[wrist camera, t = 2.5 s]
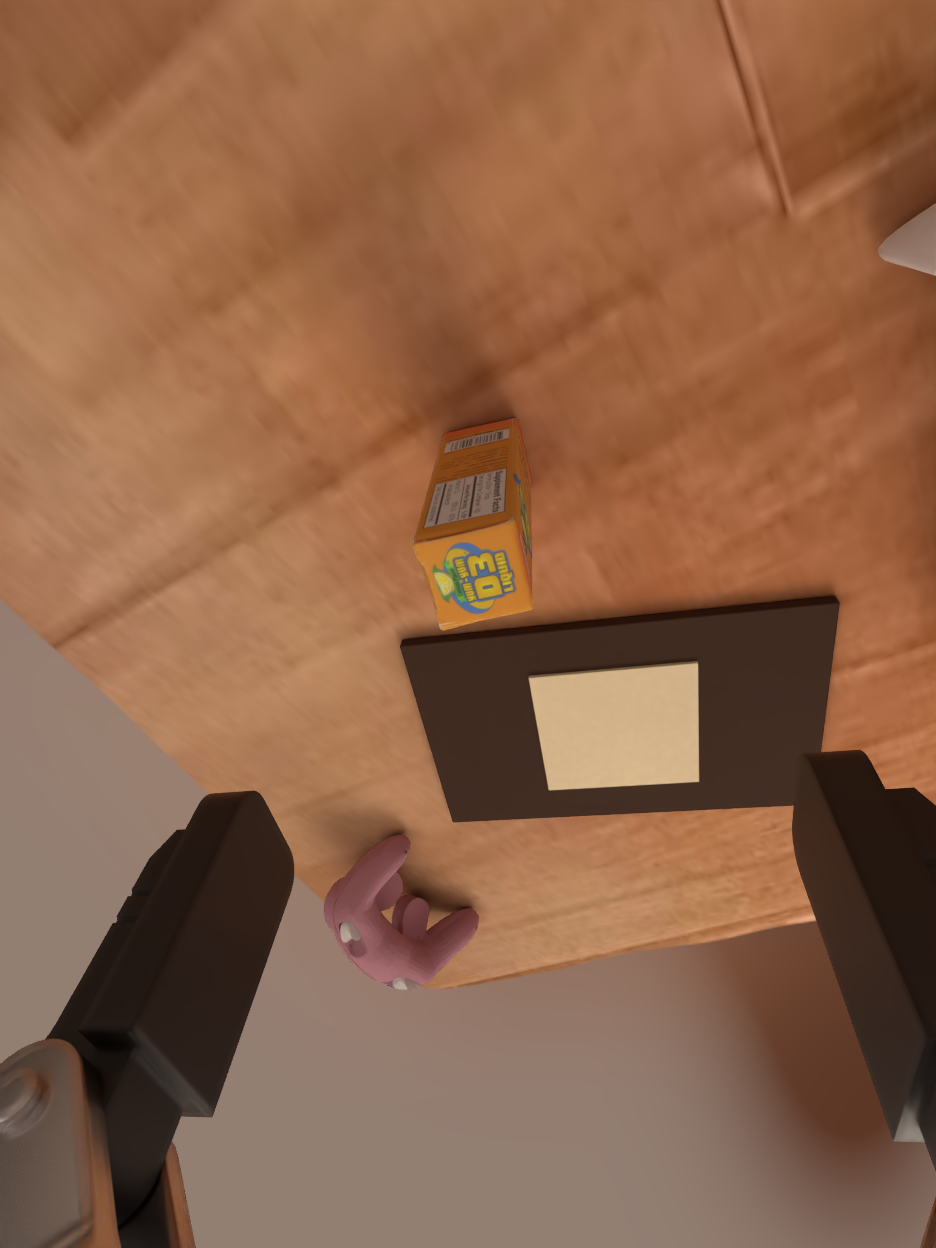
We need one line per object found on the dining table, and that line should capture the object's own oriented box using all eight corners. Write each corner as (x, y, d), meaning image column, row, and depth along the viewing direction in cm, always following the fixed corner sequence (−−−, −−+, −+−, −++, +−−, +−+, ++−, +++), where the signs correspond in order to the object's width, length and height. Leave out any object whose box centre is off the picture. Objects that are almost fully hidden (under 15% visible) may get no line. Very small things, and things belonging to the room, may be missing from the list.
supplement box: (540, 487, 29) (537, 620, 21) (461, 503, 30) (428, 637, 21) (524, 410, 27) (513, 522, 19) (441, 429, 28) (396, 544, 20)
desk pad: (453, 814, 41) (452, 825, 40) (401, 639, 34) (398, 649, 33) (811, 796, 37) (816, 807, 37) (835, 595, 30) (841, 604, 30)
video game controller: (361, 821, 45) (295, 920, 41) (408, 830, 41) (341, 938, 37) (442, 905, 49) (389, 1002, 45) (489, 919, 46) (437, 1024, 42)
